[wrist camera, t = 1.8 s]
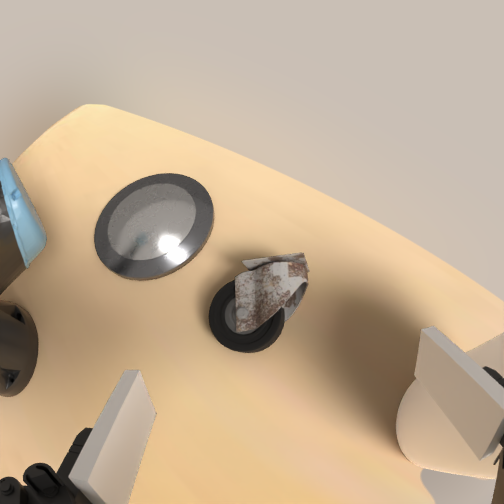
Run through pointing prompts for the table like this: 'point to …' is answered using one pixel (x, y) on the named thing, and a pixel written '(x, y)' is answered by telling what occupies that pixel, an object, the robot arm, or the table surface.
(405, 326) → the table surface
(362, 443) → the table surface
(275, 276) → the caster wheel
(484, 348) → the canister
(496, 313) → the table surface
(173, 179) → the carrier plate
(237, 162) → the table surface
